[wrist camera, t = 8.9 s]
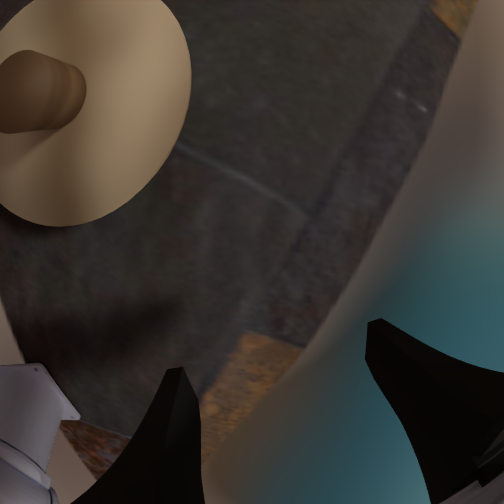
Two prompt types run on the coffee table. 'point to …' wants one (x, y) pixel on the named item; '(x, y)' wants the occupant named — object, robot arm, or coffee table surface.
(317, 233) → the coffee table surface
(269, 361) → the coffee table surface
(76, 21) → the lid
